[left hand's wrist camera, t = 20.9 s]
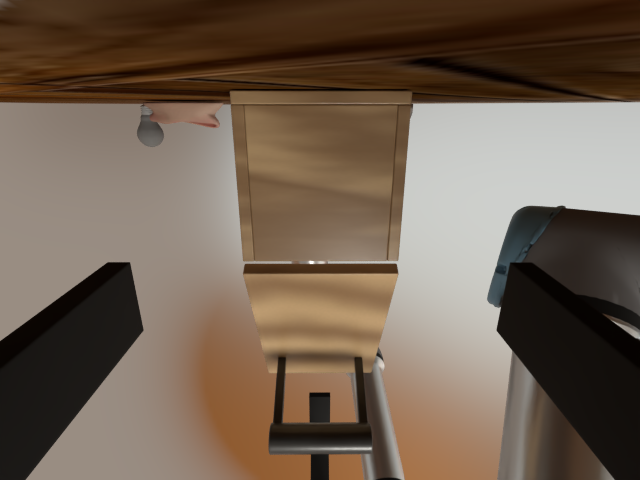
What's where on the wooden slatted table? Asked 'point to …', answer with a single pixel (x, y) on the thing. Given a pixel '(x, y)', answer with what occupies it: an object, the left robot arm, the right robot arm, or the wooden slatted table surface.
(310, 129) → the chest
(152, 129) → the light bulb
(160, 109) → the anatomical model
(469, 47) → the wooden slatted table surface
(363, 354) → the lid
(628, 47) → the wooden slatted table surface
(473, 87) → the wooden slatted table surface
